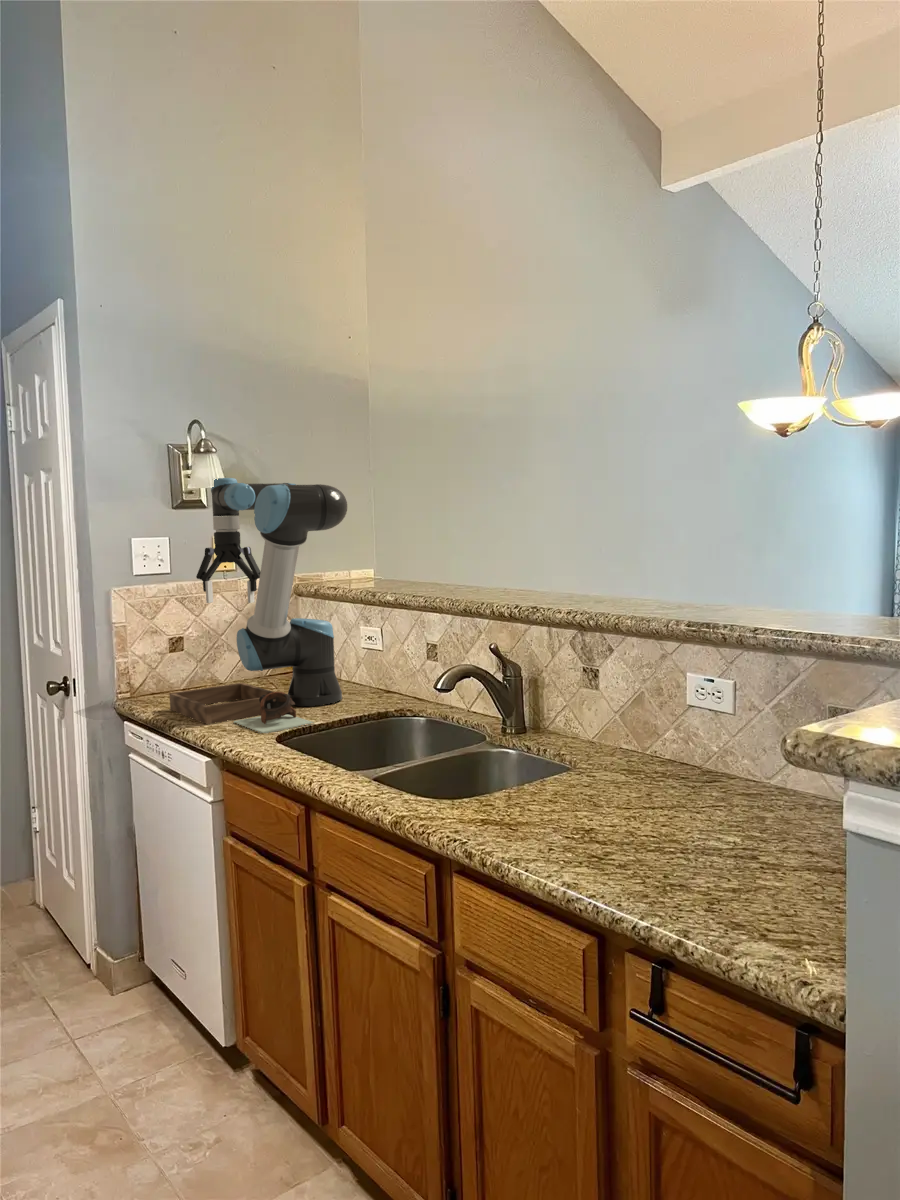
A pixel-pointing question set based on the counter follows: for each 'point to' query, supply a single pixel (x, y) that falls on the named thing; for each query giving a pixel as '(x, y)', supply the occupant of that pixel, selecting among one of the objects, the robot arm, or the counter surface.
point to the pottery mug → (275, 706)
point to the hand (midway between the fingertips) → (230, 602)
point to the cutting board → (272, 723)
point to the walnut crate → (196, 699)
